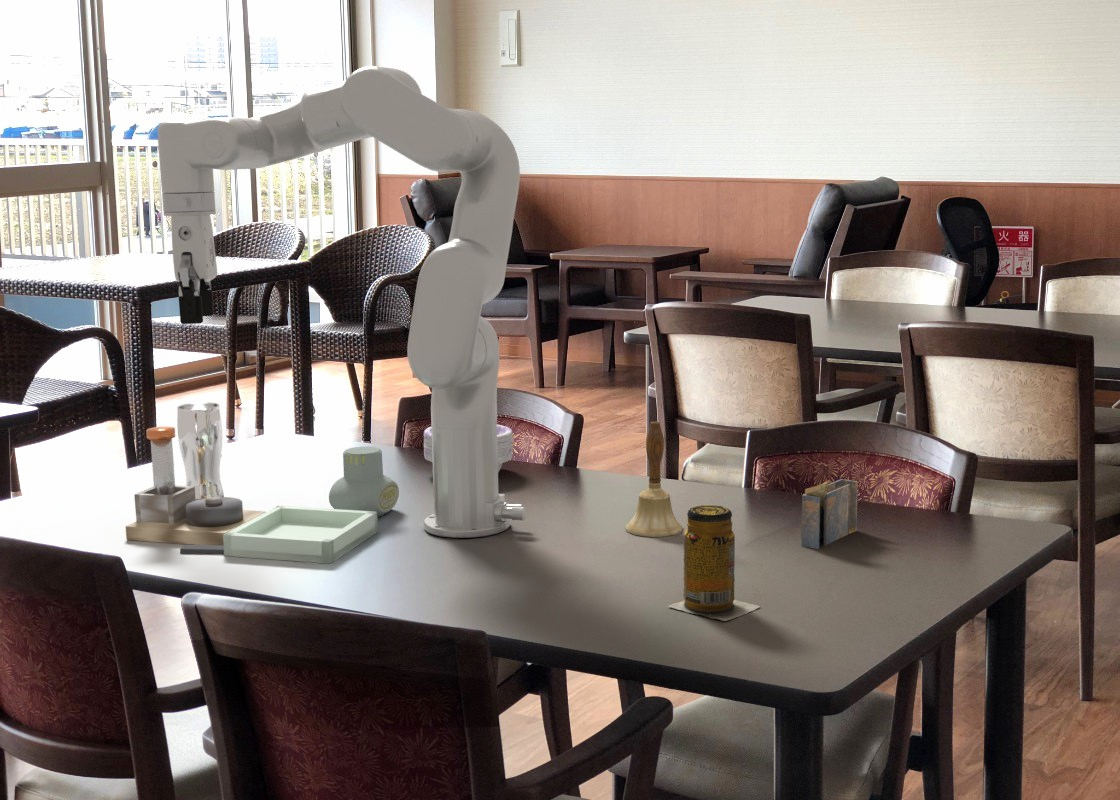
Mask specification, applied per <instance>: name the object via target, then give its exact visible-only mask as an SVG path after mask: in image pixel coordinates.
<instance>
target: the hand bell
mask: <svg viewBox="0 0 1120 800" xmlns="http://www.w3.org/2000/svg"><path fill="white" fill-rule="evenodd" d="M664 438H665V437H664V432H663V430H662V428H661V423H660V421H656V420H655V421H654V420H653V421H651V422H650V425H649V429H648V431H647V433H646V439H645V451H646V456H647V459H648V464H649V474H648V477H649V478H648V488H646V489H644V490H643V491H641V492H640V493H639V495H638V503H637V507H636V510H635V514H634V516H633V517H632V518H631V520H630V521H628V523H627V524H626V526H625V531H626V532H628V534H629V533H630V534H632V535H635V536H640V537H647V538H649V537H650V538H664V537H666V538H667V537H670V536H671V537H672V536H675V535H679V534H681V533H682V532H683V531H684V528H683V526H682V524H681V523H680V522H679V520H677V518H676V516H675V514H674V512H673V508H672V504H671V503H672V501H671V495H670V493H669V492H668V491H666V490H664V489H663V488H662V487H661V486H662V485H661V481H662V479H661V464H662V463H661V462H662V458H663V456H664V450H665V449H664V448H665V439H664Z"/></svg>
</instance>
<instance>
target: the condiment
mask: <svg viewBox="0 0 1120 800" xmlns="http://www.w3.org/2000/svg"><path fill="white" fill-rule="evenodd" d="M686 515H687V522H686V526H687V528H686V530H685V532H684V535H683V538H684V539H683V599H684V600H682V601H679V602H675V603H671V604H669V605H668V606H667V607H668V608H672V609H675V610H679V611H683V612H685V613H690V614H692V615H693V614H695V615H699V616H700V615H701V616H702V617H708V618H710V619H715V620H720V621H723V622H726V621H731V620H733V619H735V618H739V617H742V616H744V615H747V614H748V613H750V612H753V611H755V610H757V609H759V608H761V606H759V605H757V604H754V603H753V604H751V603H749V602H745V601H741V600H736V599H735V555H736V553H735V550H736V549H735V547H736V545H735V544H736V543H735V541H736V540H735V539H736V537H735V535H736V534H735V533H734V531H733V530H732V529H733V522H732V516H733V514H732V511H731V510H730V509H729V508H727V507H725V506H721V505H709V504H706V505H703V504H702V505H697V506H693V507H690V509H688V511H687V513H686Z"/></svg>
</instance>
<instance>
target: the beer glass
mask: <svg viewBox="0 0 1120 800" xmlns="http://www.w3.org/2000/svg"><path fill="white" fill-rule="evenodd" d="M176 409H177V415H176V416H177V423H176V426H177V439H178V446H179V452H180V454H181V458H182V463H183V466H184V471H185V476H186V485H185V486H193V487H195V498H196V500H200V499H205V498H209V497H224V494H225V493H224V489H223V486H222V482H221V476H220V475H221V473H220V470H221V459H222V452H223V449H222V448H223V440H224V439H223V421H222V415H221V408H220V404H219V403H217V402H209V401H208V402H207V401H206V402H190V403H185V404H184V403H183V404H181V405H178V406H177V408H176Z"/></svg>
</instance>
